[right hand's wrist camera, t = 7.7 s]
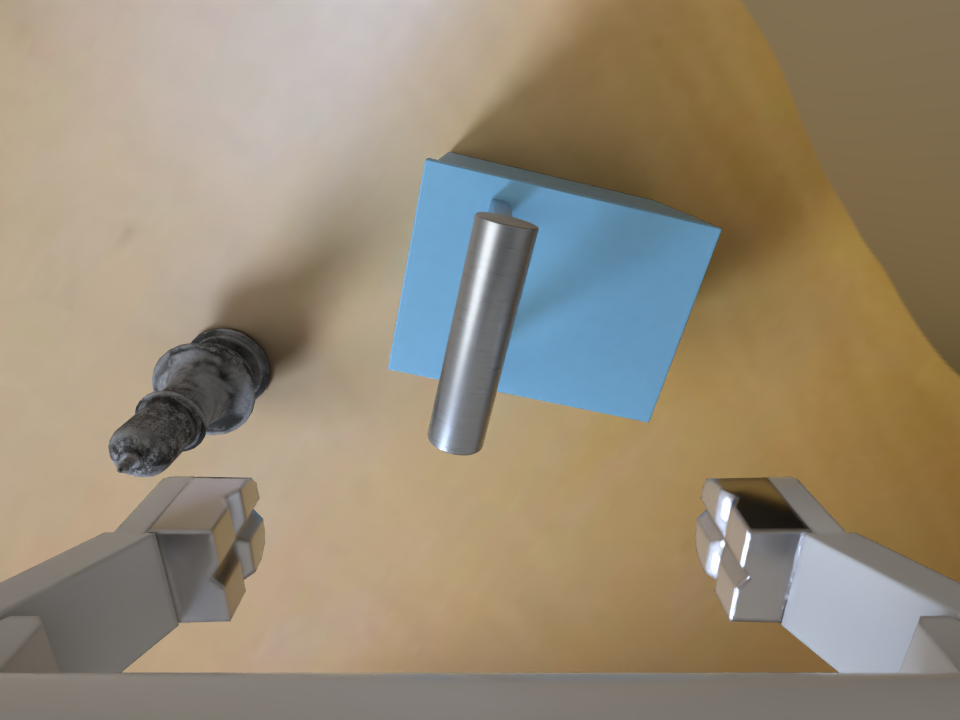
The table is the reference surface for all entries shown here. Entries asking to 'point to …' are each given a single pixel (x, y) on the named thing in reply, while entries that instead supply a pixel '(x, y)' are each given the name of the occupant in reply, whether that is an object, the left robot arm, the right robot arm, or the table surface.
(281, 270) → the table surface
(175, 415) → the dark grey turned figure
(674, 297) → the lid
